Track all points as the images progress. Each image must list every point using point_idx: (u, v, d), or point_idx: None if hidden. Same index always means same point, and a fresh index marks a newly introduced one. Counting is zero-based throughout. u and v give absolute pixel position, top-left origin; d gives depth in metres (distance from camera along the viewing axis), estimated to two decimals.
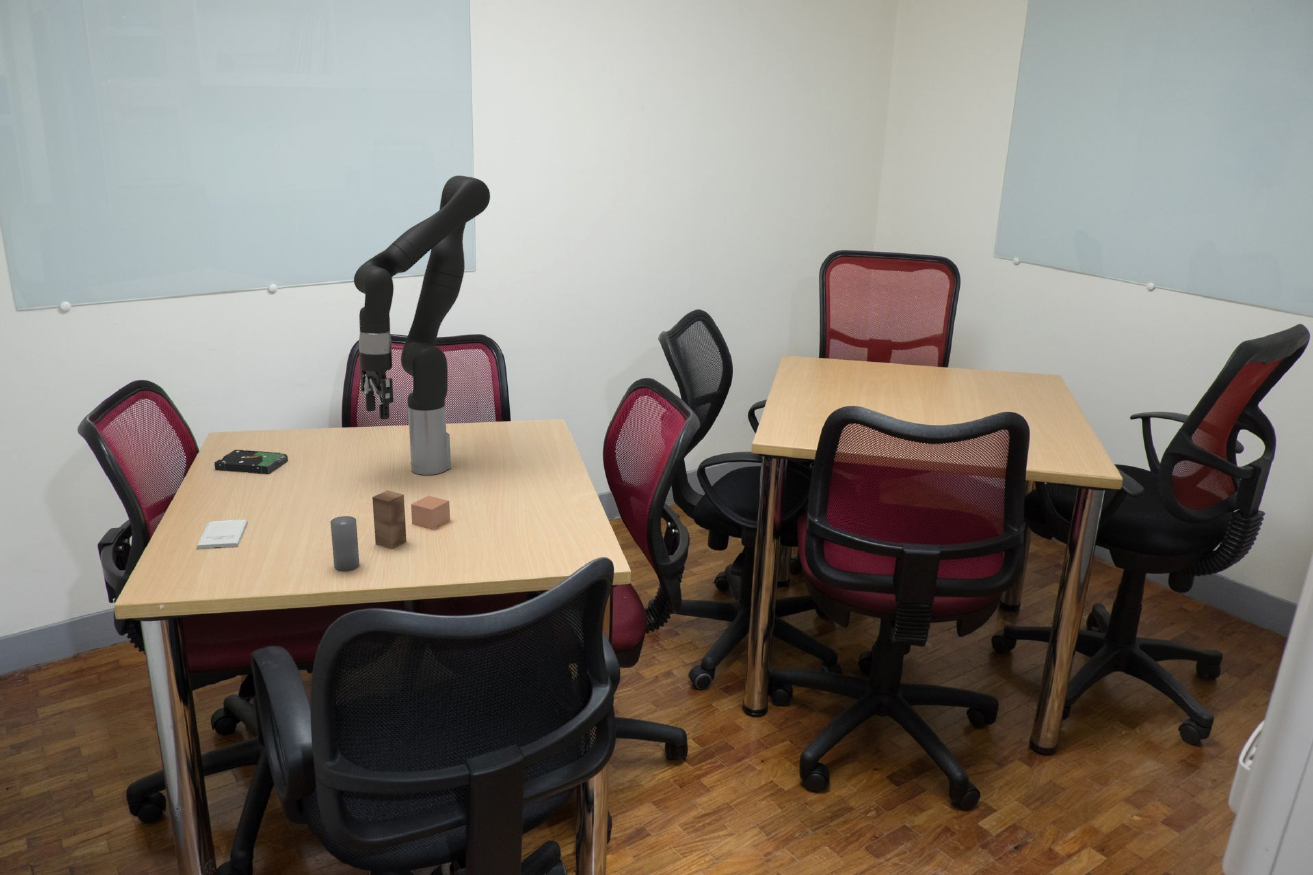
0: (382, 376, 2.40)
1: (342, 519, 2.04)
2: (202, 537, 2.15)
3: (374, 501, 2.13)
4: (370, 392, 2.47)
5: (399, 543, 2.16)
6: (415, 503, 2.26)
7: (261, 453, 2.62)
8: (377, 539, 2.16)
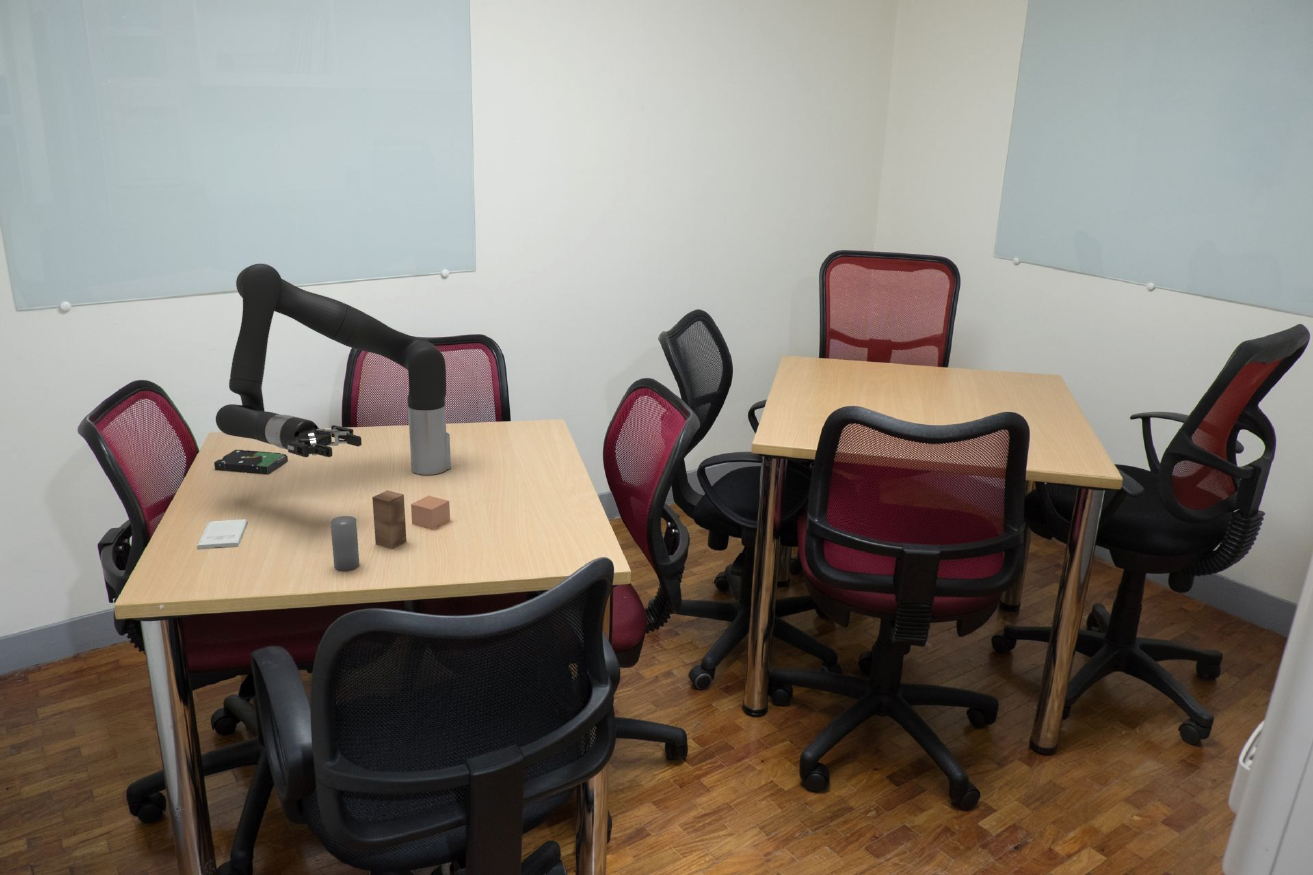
0: None
1: (342, 519, 2.04)
2: (202, 537, 2.15)
3: (374, 501, 2.13)
4: (344, 437, 2.21)
5: (399, 543, 2.16)
6: (415, 503, 2.26)
7: (261, 453, 2.62)
8: (377, 539, 2.16)
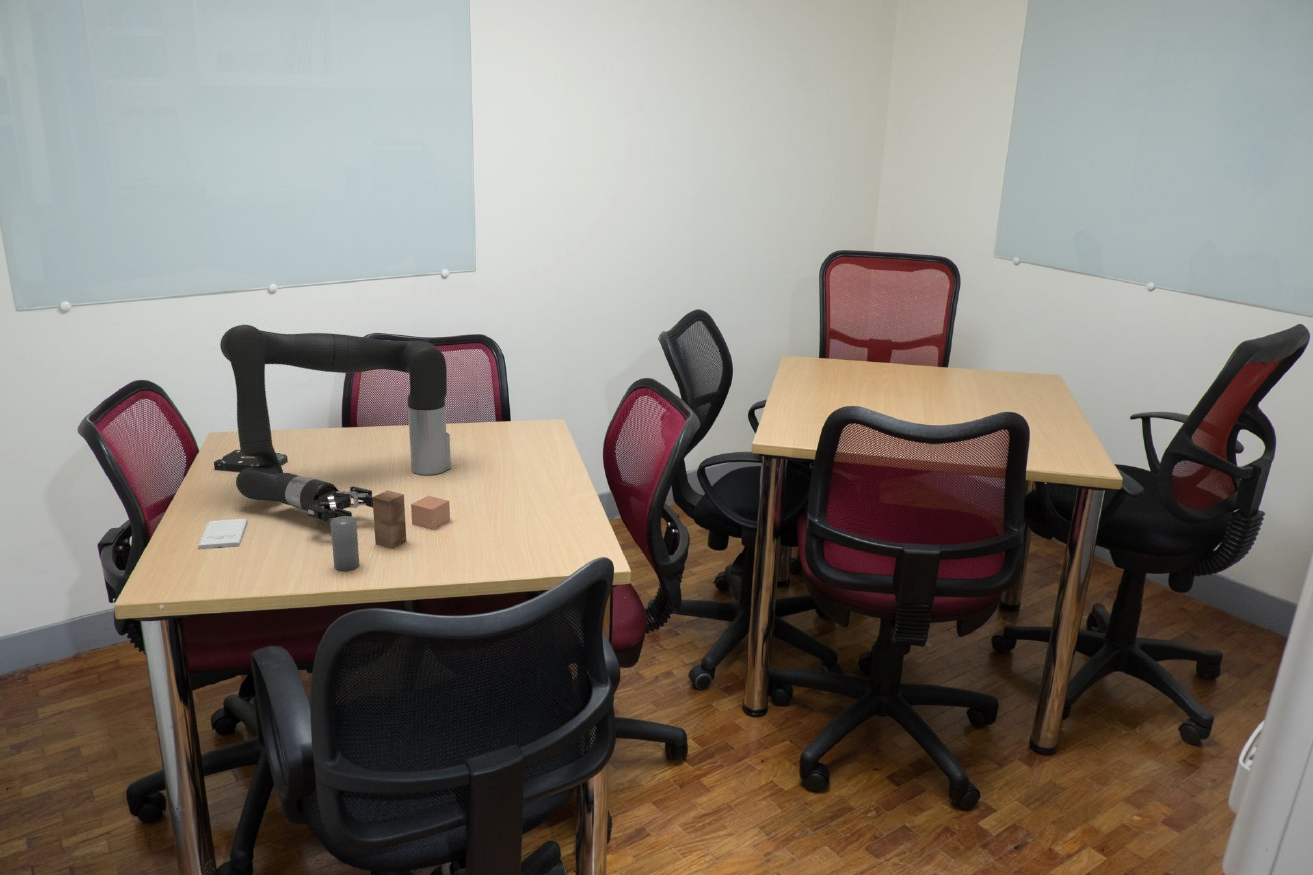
0: (317, 505, 2.20)
1: (342, 519, 2.04)
2: (203, 537, 2.15)
3: (374, 501, 2.13)
4: (363, 499, 2.24)
5: (399, 543, 2.16)
6: (415, 503, 2.26)
7: None
8: (377, 539, 2.16)
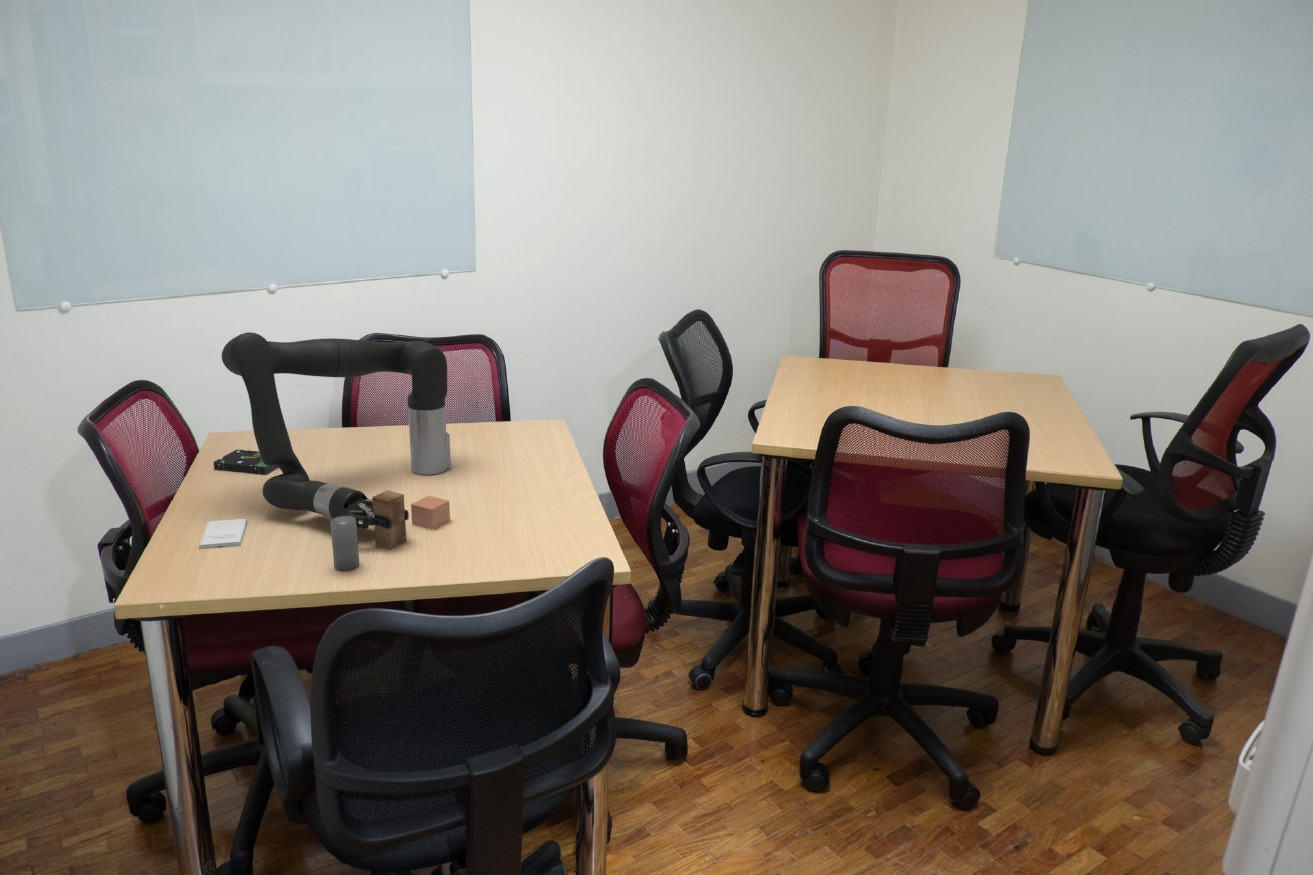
0: (347, 514, 2.16)
1: (342, 519, 2.04)
2: (203, 537, 2.15)
3: (374, 501, 2.13)
4: None
5: (399, 543, 2.16)
6: (415, 503, 2.26)
7: None
8: (377, 539, 2.16)
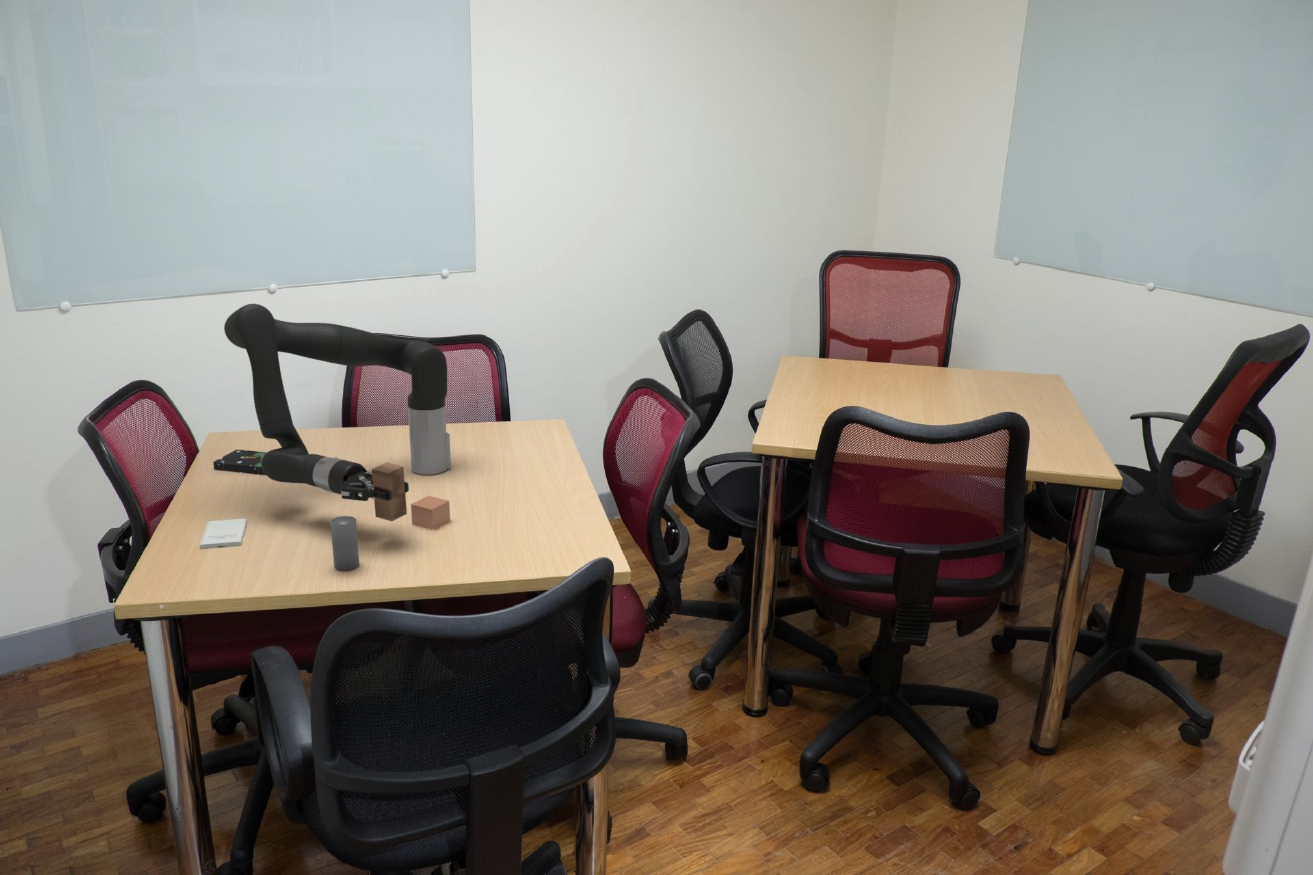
0: None
1: (342, 519, 2.04)
2: (204, 537, 2.15)
3: (374, 473, 2.11)
4: None
5: (399, 515, 2.14)
6: (415, 503, 2.26)
7: (261, 453, 2.61)
8: (377, 511, 2.14)
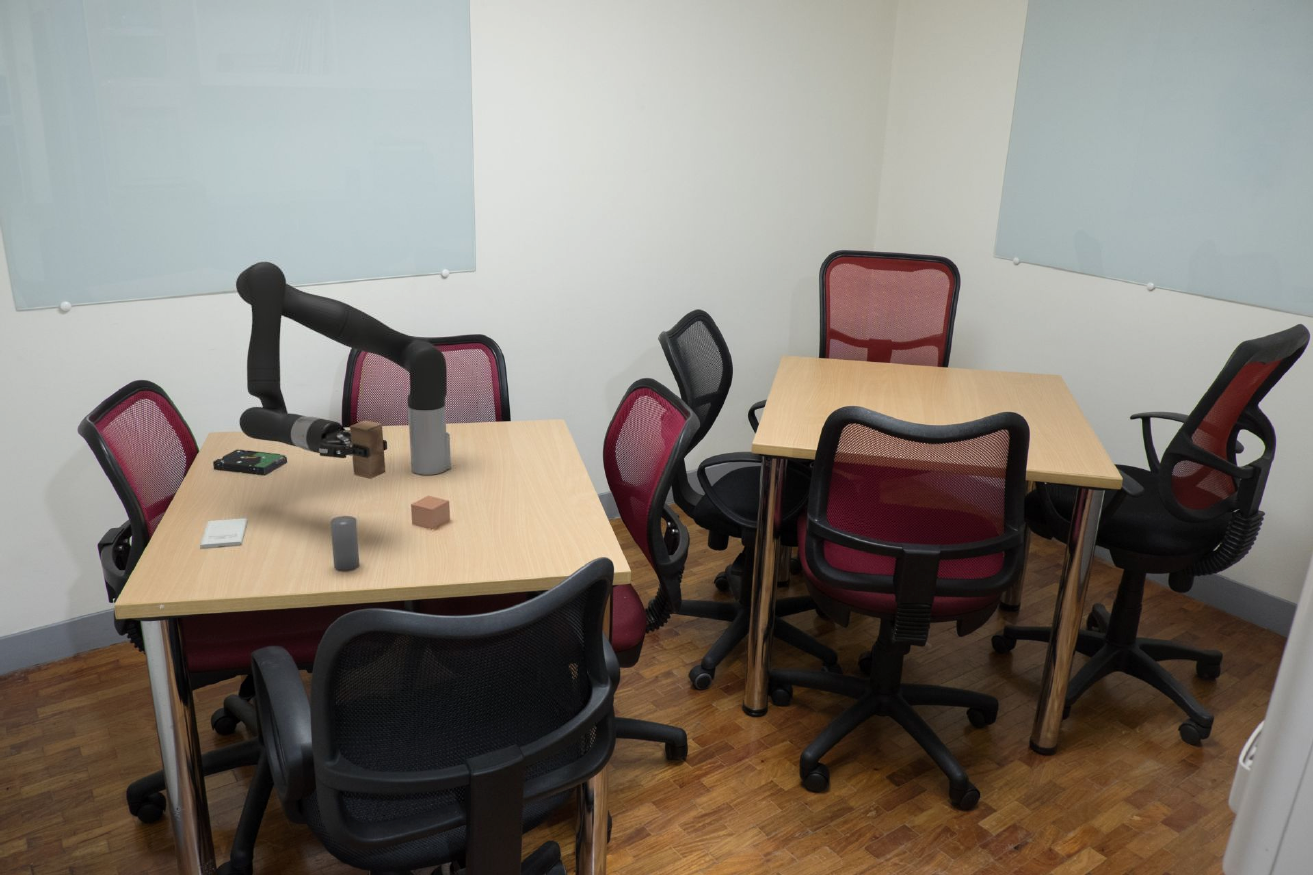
0: None
1: (342, 519, 2.04)
2: (204, 537, 2.15)
3: (352, 430, 2.10)
4: None
5: (378, 473, 2.14)
6: (415, 503, 2.26)
7: (261, 454, 2.61)
8: (356, 469, 2.13)
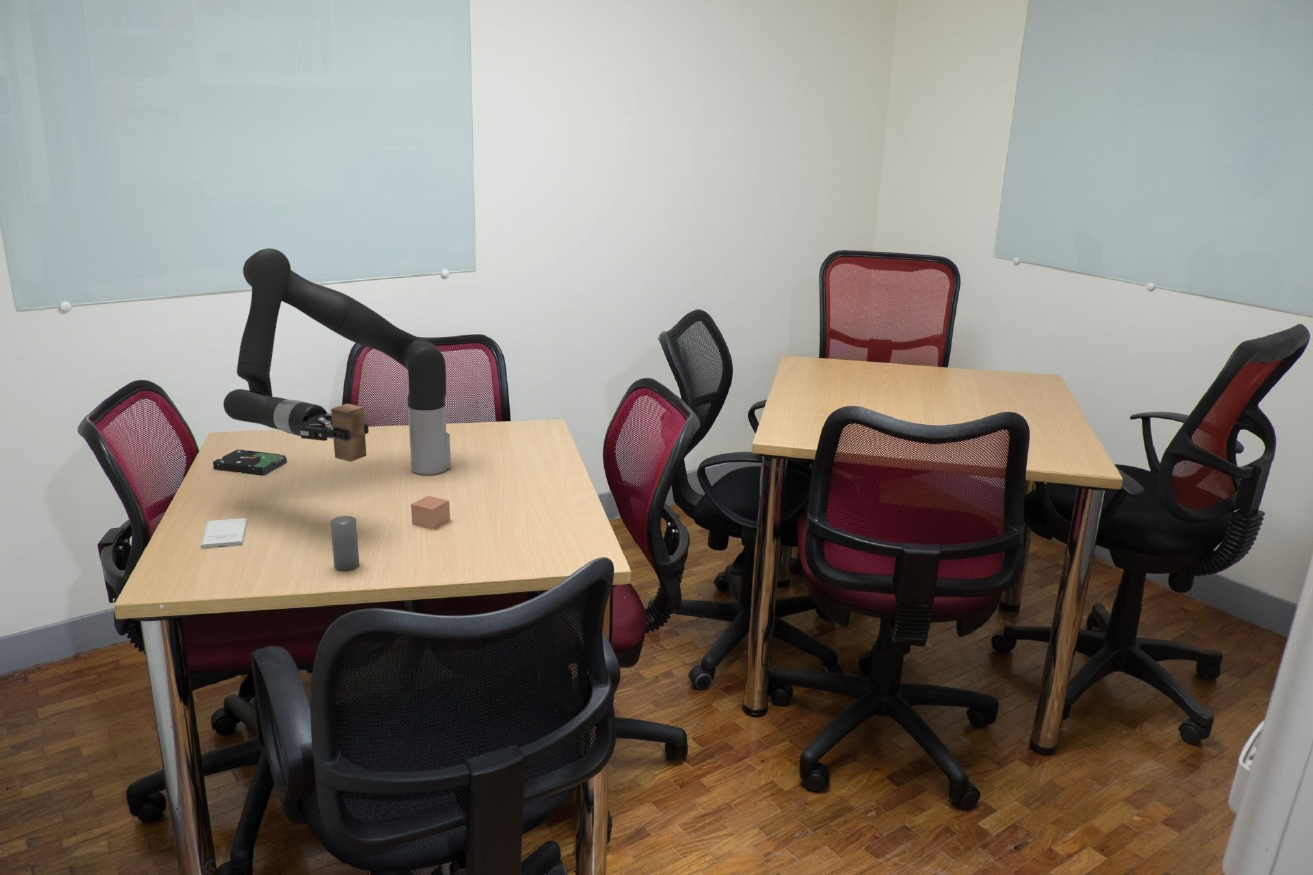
0: None
1: (342, 519, 2.04)
2: (205, 536, 2.15)
3: (333, 413, 2.11)
4: None
5: (359, 457, 2.15)
6: (415, 503, 2.26)
7: (261, 454, 2.61)
8: (336, 452, 2.14)
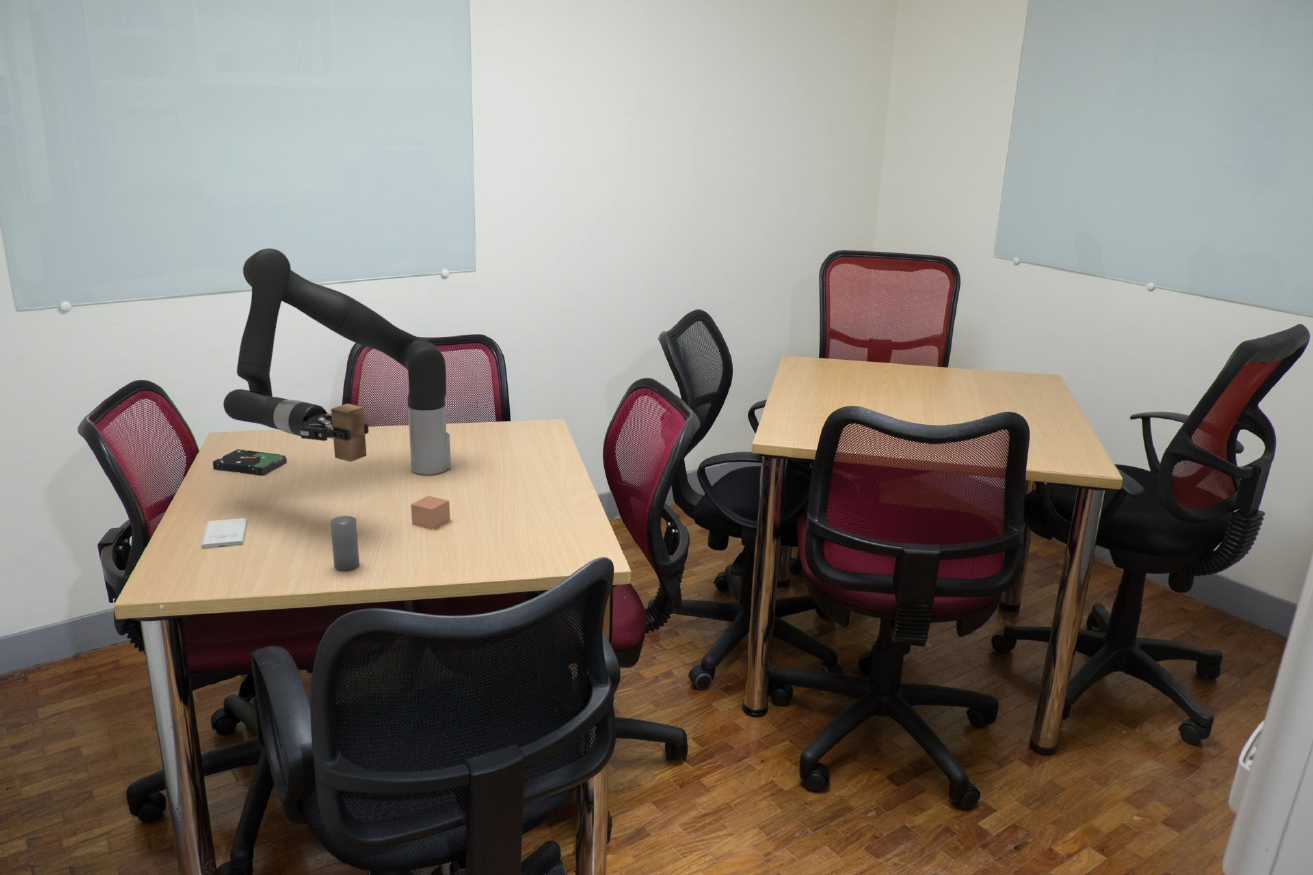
0: None
1: (342, 519, 2.04)
2: (205, 536, 2.15)
3: (333, 413, 2.11)
4: None
5: (359, 457, 2.15)
6: (415, 503, 2.26)
7: (261, 454, 2.61)
8: (336, 452, 2.14)
